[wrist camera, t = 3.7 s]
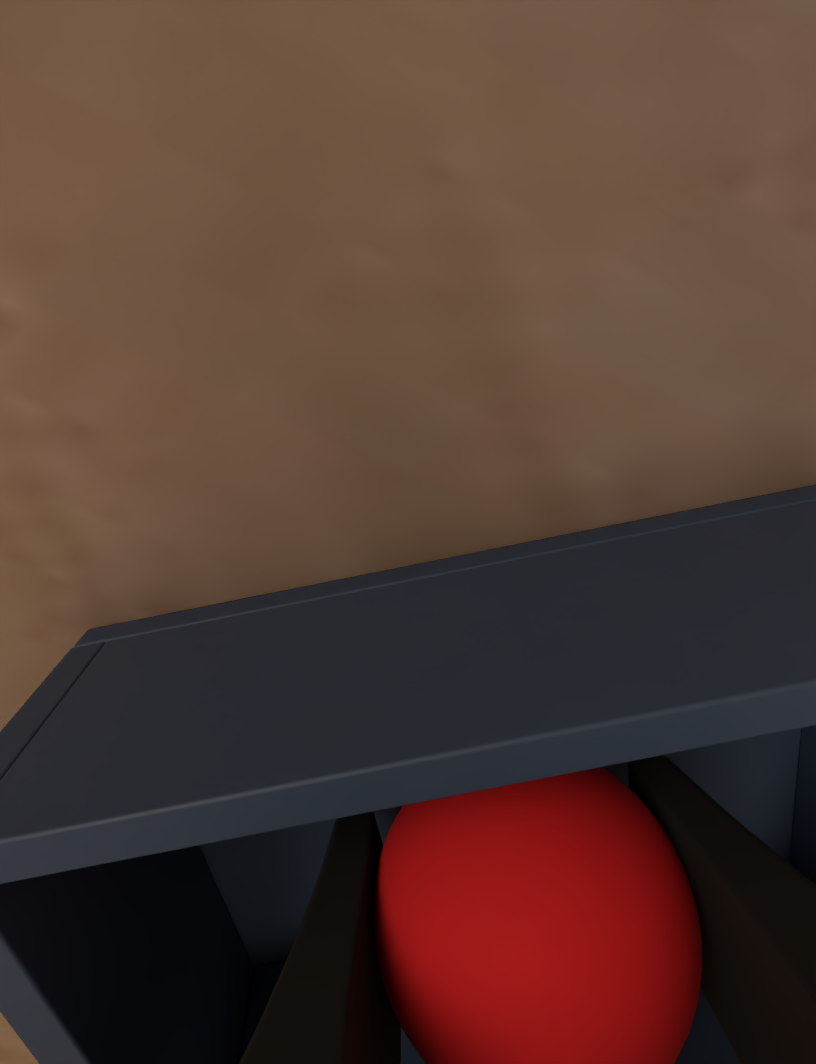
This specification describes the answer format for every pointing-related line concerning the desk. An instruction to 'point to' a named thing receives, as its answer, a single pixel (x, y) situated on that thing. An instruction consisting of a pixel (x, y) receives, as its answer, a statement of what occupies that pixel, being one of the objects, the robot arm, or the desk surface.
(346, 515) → the desk surface
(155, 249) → the desk surface
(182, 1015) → the box
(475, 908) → the ball
